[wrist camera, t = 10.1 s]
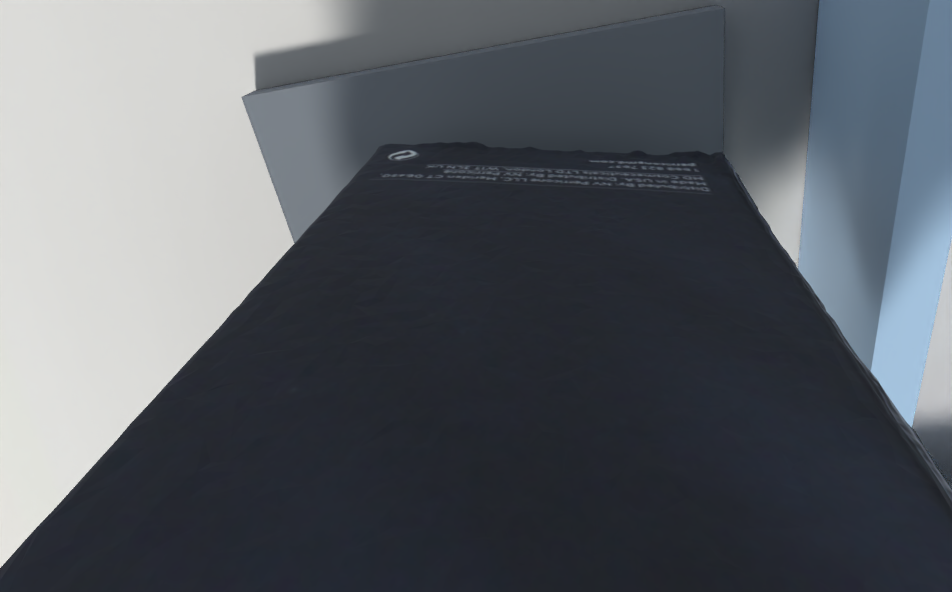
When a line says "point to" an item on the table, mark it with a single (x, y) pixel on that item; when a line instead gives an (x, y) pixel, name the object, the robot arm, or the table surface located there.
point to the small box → (515, 406)
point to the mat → (501, 103)
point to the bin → (881, 181)
